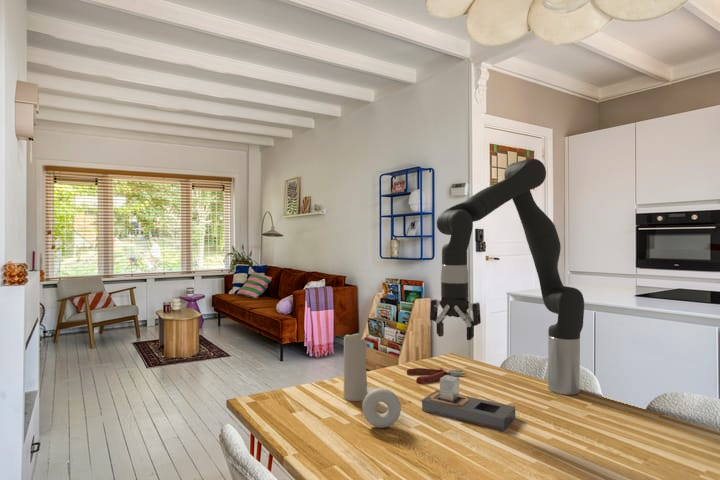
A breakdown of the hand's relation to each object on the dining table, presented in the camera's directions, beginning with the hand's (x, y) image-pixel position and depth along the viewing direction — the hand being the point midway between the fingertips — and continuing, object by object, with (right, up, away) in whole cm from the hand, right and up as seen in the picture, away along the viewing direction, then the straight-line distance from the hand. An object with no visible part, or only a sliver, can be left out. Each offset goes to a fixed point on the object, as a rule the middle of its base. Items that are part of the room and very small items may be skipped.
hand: (454, 337), depth 127 cm
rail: (+3, -20, -3) cm, 21 cm away
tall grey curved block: (-26, -20, +12) cm, 36 cm away
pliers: (0, -21, +28) cm, 35 cm away
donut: (-21, -21, -12) cm, 32 cm away
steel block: (-2, -20, 0) cm, 20 cm away
